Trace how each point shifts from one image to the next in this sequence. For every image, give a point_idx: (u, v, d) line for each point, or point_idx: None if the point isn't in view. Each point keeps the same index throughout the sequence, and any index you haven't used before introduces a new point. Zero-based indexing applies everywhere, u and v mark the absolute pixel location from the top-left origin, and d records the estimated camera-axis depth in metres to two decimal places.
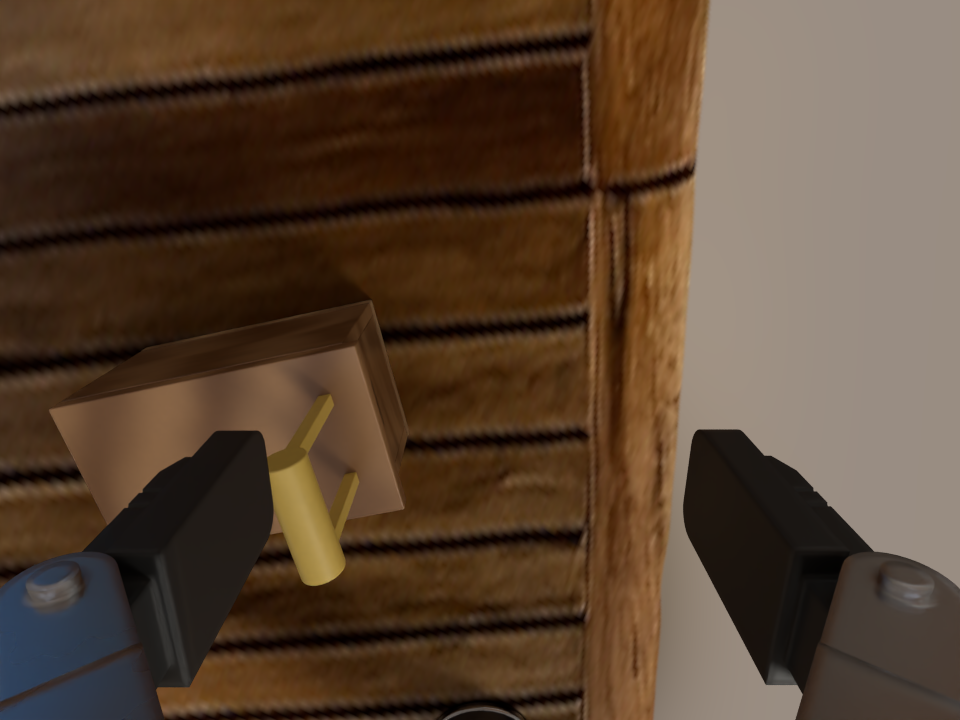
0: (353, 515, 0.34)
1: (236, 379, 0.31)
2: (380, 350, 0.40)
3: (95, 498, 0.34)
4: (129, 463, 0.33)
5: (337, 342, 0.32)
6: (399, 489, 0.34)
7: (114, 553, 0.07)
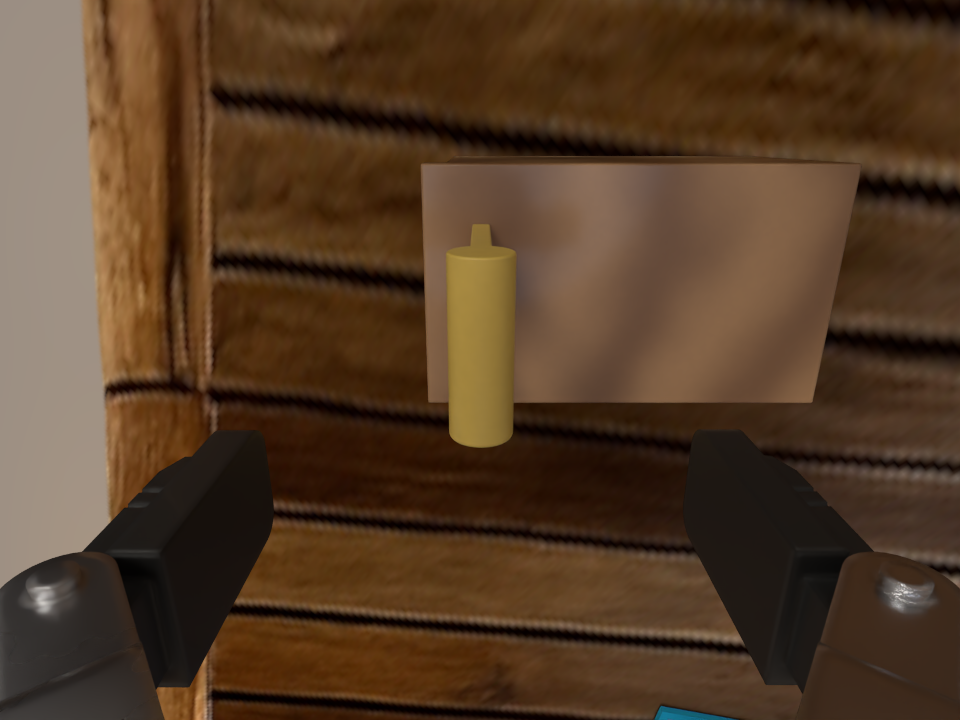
0: (497, 170, 0.23)
1: (577, 393, 0.26)
2: None
3: (836, 277, 0.24)
4: (760, 317, 0.25)
5: None
6: None
7: (114, 553, 0.07)
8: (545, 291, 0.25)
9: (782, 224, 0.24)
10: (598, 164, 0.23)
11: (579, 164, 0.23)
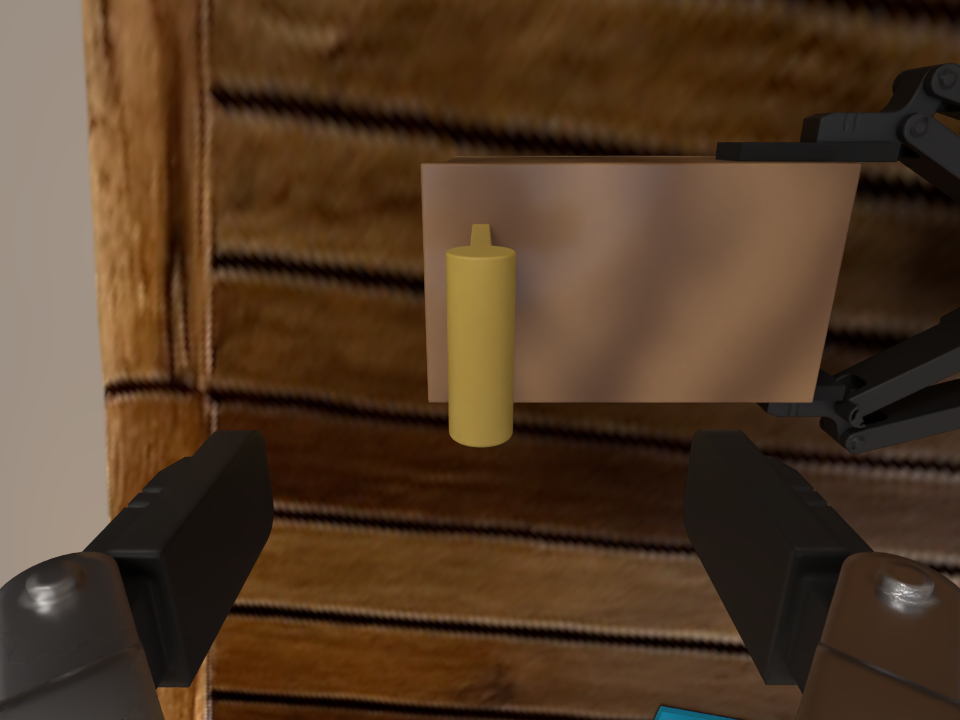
0: (496, 170, 0.23)
1: (577, 393, 0.26)
2: None
3: (836, 276, 0.24)
4: (760, 316, 0.25)
5: None
6: None
7: (114, 553, 0.07)
8: (545, 291, 0.25)
9: (782, 224, 0.24)
10: (598, 164, 0.23)
11: (579, 164, 0.23)
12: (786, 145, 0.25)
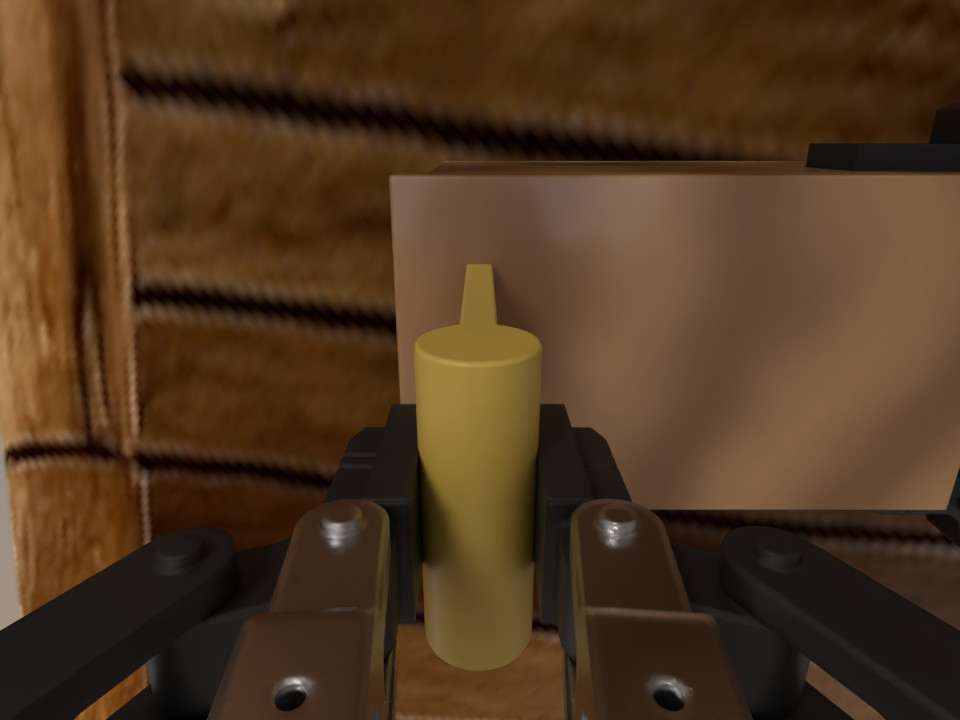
0: (503, 185, 0.15)
1: None
2: None
3: None
4: (882, 394, 0.17)
5: None
6: (392, 222, 0.16)
7: (369, 501, 0.08)
8: (573, 359, 0.17)
9: (925, 264, 0.16)
10: (655, 176, 0.15)
11: (627, 176, 0.15)
12: (924, 148, 0.17)
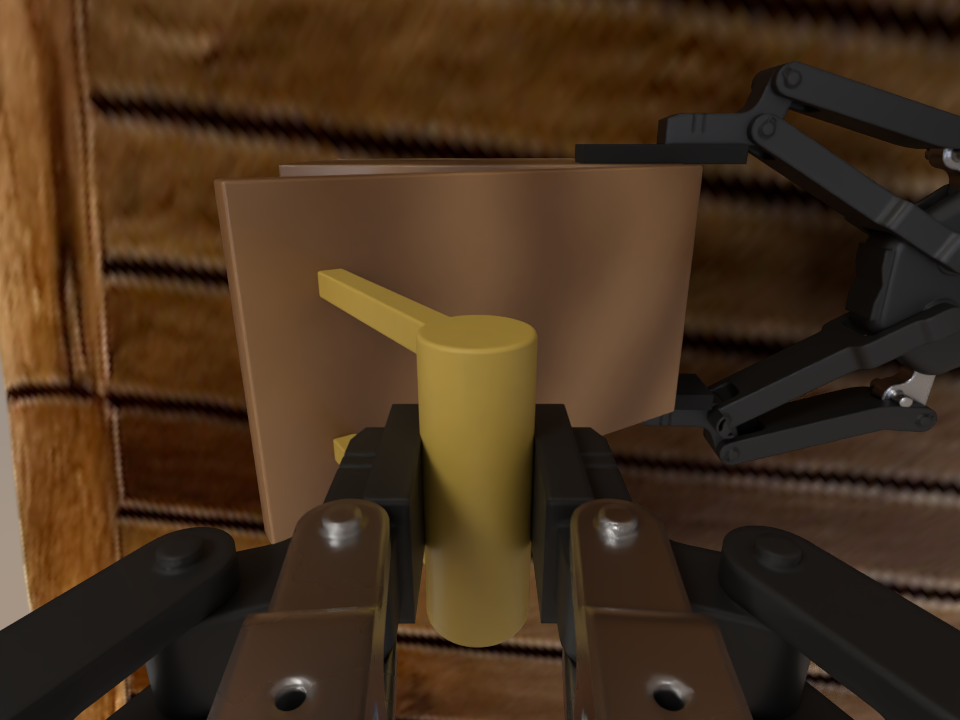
0: (346, 187, 0.15)
1: None
2: None
3: (688, 282, 0.24)
4: (634, 335, 0.23)
5: None
6: (227, 234, 0.14)
7: (369, 501, 0.08)
8: None
9: (648, 233, 0.22)
10: (474, 173, 0.17)
11: (452, 174, 0.17)
12: (629, 147, 0.24)
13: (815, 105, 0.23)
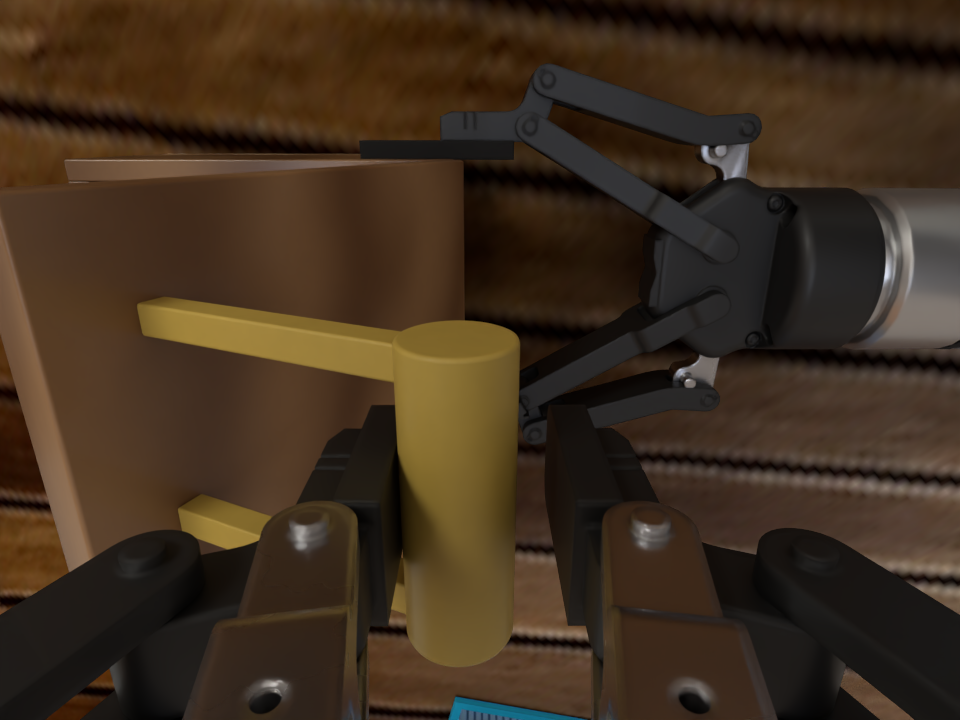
0: (157, 194, 0.12)
1: None
2: None
3: (463, 270, 0.25)
4: None
5: None
6: (5, 268, 0.10)
7: (339, 503, 0.08)
8: (262, 379, 0.15)
9: (433, 226, 0.22)
10: (288, 173, 0.15)
11: (268, 175, 0.15)
12: (403, 143, 0.25)
13: (572, 104, 0.25)
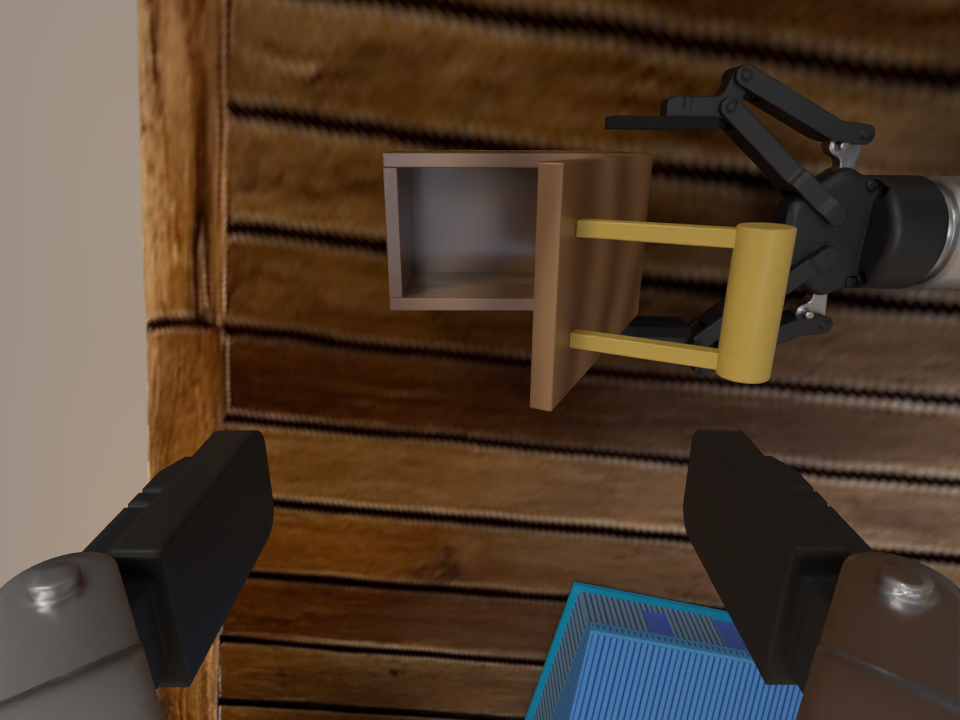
0: (586, 166, 0.24)
1: (594, 355, 0.31)
2: None
3: None
4: (633, 262, 0.36)
5: (395, 309, 0.41)
6: (556, 196, 0.22)
7: (114, 553, 0.07)
8: (592, 273, 0.28)
9: (640, 196, 0.35)
10: (610, 158, 0.28)
11: (606, 159, 0.27)
12: (643, 117, 0.37)
13: (757, 95, 0.37)
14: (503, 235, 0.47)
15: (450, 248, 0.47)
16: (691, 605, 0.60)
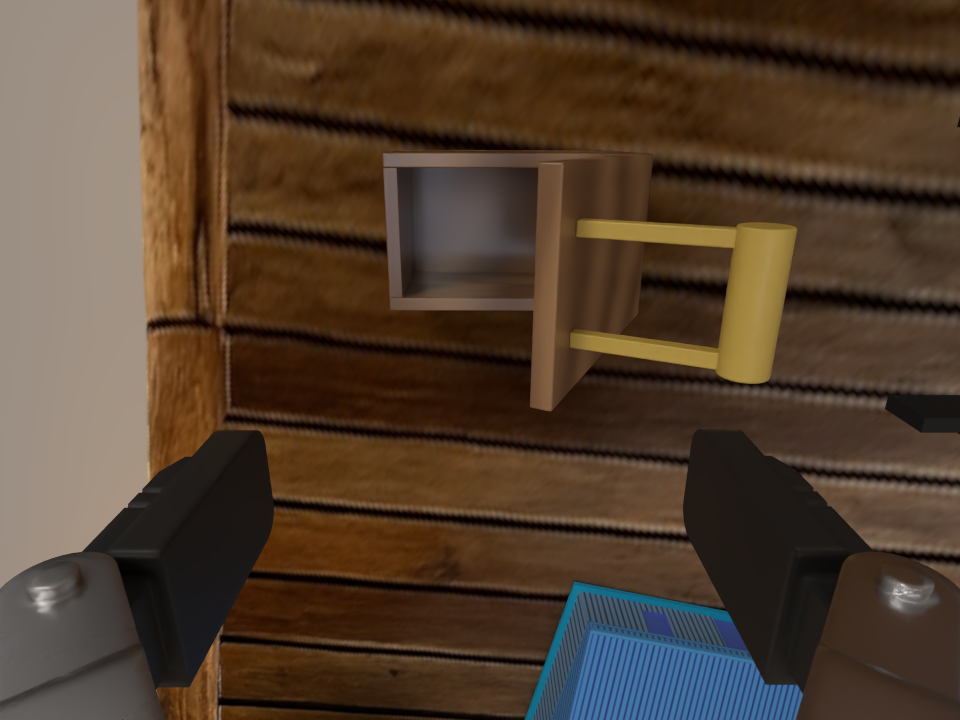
0: (586, 166, 0.24)
1: (595, 354, 0.31)
2: None
3: None
4: (633, 262, 0.36)
5: (395, 309, 0.41)
6: (556, 196, 0.22)
7: (114, 553, 0.07)
8: (592, 272, 0.28)
9: (640, 196, 0.35)
10: (610, 158, 0.28)
11: (606, 159, 0.27)
12: None
13: None
14: (503, 235, 0.47)
15: (450, 248, 0.47)
16: (691, 605, 0.60)
